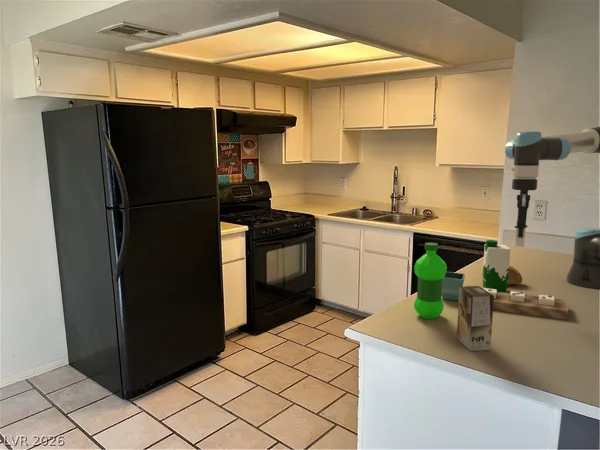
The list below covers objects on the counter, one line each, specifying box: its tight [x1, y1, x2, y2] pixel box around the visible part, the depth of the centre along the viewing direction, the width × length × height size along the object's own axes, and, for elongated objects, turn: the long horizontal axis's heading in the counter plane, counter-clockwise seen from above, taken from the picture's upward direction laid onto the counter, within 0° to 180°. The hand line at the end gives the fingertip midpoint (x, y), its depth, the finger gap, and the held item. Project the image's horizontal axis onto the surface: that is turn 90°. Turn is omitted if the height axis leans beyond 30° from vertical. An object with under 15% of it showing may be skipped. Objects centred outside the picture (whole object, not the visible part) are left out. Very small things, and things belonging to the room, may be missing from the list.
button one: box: [483, 288, 497, 299], centre depth 158 cm, size 4×4×4 cm
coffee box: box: [456, 285, 494, 352], centre depth 125 cm, size 9×6×16 cm
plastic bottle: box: [413, 242, 448, 320], centre depth 145 cm, size 10×10×25 cm
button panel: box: [493, 292, 569, 320], centre depth 154 cm, size 30×12×3 cm, turn 64°
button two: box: [538, 294, 555, 306], centre depth 150 cm, size 4×4×4 cm
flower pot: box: [441, 271, 466, 301], centre depth 164 cm, size 9×9×9 cm
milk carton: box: [482, 239, 511, 293], centre depth 172 cm, size 9×9×20 cm
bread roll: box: [507, 265, 523, 286], centre depth 182 cm, size 10×15×8 cm, turn 59°
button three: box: [509, 290, 526, 302], centre depth 154 cm, size 4×4×4 cm
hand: (519, 246), depth 151 cm, fingers closed
